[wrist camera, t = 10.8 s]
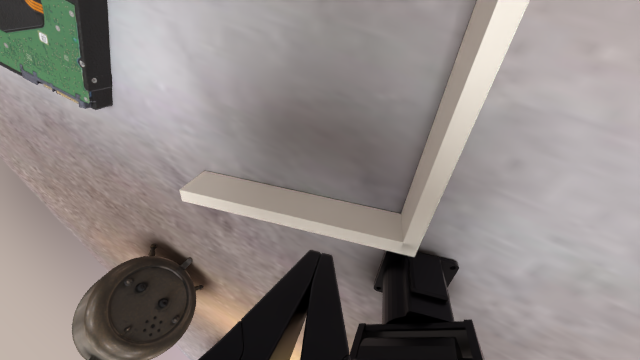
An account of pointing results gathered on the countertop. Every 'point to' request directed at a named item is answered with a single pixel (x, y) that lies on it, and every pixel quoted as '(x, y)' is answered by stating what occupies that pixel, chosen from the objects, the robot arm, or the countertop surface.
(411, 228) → the beige bent panel frame
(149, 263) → the alarm clock
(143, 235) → the countertop surface
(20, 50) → the disk drive
